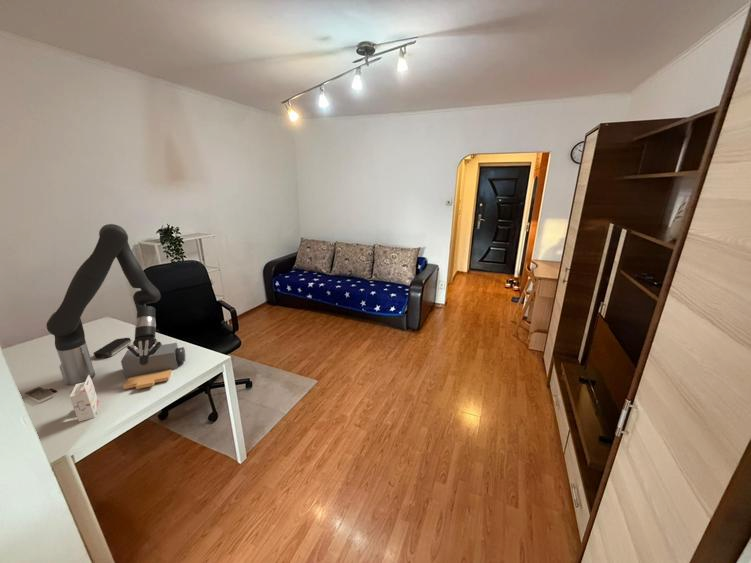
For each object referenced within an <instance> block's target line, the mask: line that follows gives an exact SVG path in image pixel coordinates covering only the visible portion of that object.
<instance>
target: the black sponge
mask: <svg viewBox="0 0 751 563" xmlns="http://www.w3.org/2000/svg"><path fill="white" fill-rule="evenodd" d="M131 343H132V339H131V338H130V337H123V338H116V339H114V340H112V341H111V342H109V343H107V344H105V345H104V346H103V347H101V348H99V349H97V350H96V351H94V352H93V353H92V354H93V355H94V357H95V358H109V357H112V356H114V355H115V354H117V353H119V352H120V351H121V350H122V349H124V348H127V346H130V345H131Z"/></svg>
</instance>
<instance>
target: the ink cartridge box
mask: <svg viewBox="0 0 751 563" xmlns="http://www.w3.org/2000/svg"><path fill="white" fill-rule="evenodd" d="M71 391H72V392H71V393H70V395H69V399H70V402H71V405H72V406H73V410H74V413H75V415H76V418H77V421H78V423H79V422H82V421H86V420H90V419H93V418H95V417H96V415H97V410H98V406H99V403H100V402H99V399H98V394H97V393H96V392H97V391H96V388H95V385H94V383H93V380H92V379H91V378H90V376H89V375H88V377H87V379H86V381H85V382H84V383H80V384H76V385H75V386H74V387H73V389H72V390H71Z"/></svg>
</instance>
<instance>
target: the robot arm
mask: <svg viewBox="0 0 751 563" xmlns="http://www.w3.org/2000/svg"><path fill="white" fill-rule="evenodd" d="M98 232H99V233H98V236H99V237H98V240H97V243H96V246H95V248H94V249H93V251H92V253H91V254H90V256H89V257H87V259H86V260H84V262H83V263H82V264H81V265H80V267H79V268H78V269H77V270H76V272H75V274H74V275H73V277H72V279H71V281H70V283H69V286H68V288H67V289H66V292H65V295H64V298H63V300H62V302H61V304H60V305H59V306H58V308H57V309H56V311H55V312H53V313H52V314H51V315H50V317H49V319H48V320H47V322H46V329H47V332H48V333H49V334H51V335H52V336H53V337H54V346H55V349H56V352H57V355H58V358H59V361H60V364H59V370H60V373H61V375H62V379H63V382H64V384H65V385H66V386H67V385H71V386H73V385H76V384H80V383H84V382H85V381H86V379H87V377H88V375H89V376H90V378H91V380H92V379H93V378H94V377H95V376H96V372H95V368H94V365H93V362H92V361H93V360H92V359H91V355H90V352H89V351H90V350H89V348H88V344H87V341H86V334H85V330H84V327H83V322H82V318H81V317H82V315H83V313H84V311H85V309H86V307H87V306H88V305H89V304H90V302H91V301H92V300H93V299H94V297H95V296H96V294H98V291H99V290H100V288H101V286H102V285H103V284H104V282H105V279H106V277H107V276H108V274H109V272H110V269H111V268H112V264H113V262H114V261H115V259H117V261H118V264H119V267H120V268H121V270H122V272H123V274H124V277H125V278H126V279H127V282H128V283H129V286H131V287H132V289H141V290H137V291H135V292H134V294H133V295H132V298H133V303H134V305H135V306H134V307H135V309H136V320H135V326H134V327H135V330H134V340H133V342H132V344H130V345H127V346H126V350H130V351H131V352H132V353H133V354H134V355H135V356H136V357H140V364H141V365H142V366H143V365H147V363H148V358H149V356H150V355H153V354H154V353H155V352H156V351H157V350H158V348H159V347H160V346H161V345H163V344H162V342H161V341H158V340H157V339H156V332H157V328H156V327H157V323H156V308H155V307H153V306H151V305H146V304H152V303H157V302H158V301H160V300H161V298H162V296H161V292H160V290H159V289H158V288H157V287H156V286H155V285H154V284H153V283H152V282H151V281H150V280H149V278H148V277H147V275H146V273H145V272H144V270H143V267H142V266H141V265H140V263H139V261H138V260H137V258H136V256H135V255H134V253H133V250H132V248H131V247H130V244H129V241H128V240H129V235H128V233H127V231H126V230H125V229H124V228H123V227H122V226H120V225H118V224H114V223H109V224H105V225H103V226H102V227H101V228H100V229H99V231H98ZM152 346H154V347H153V348H152V349H151V350H150V348H151V347H152ZM135 347H136V348H135ZM134 349H139V353H137V352H136V351H135V350H134ZM144 352H145V353H144ZM65 385H64V386H65Z"/></svg>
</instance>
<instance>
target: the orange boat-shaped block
mask: <svg viewBox="0 0 751 563" xmlns="http://www.w3.org/2000/svg"><path fill="white" fill-rule="evenodd" d="M172 371H173V370H172V369H171V370H166V371H161V372H156V373H150V374H145V375H140V376H134V377H130V378H127V381H125V383H124V384H123V388H122V389H123V390H126V389H131V388H135V390H139V389H144V388H149V387H153V386H155V384H156V383H161V382H166V381H169V380H170V377H171V375H172Z"/></svg>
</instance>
